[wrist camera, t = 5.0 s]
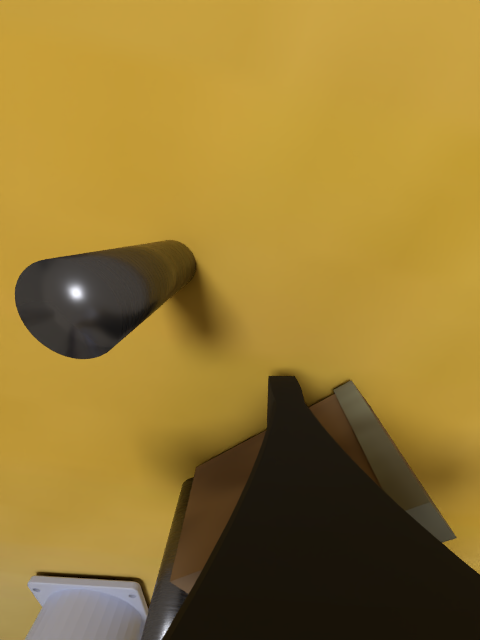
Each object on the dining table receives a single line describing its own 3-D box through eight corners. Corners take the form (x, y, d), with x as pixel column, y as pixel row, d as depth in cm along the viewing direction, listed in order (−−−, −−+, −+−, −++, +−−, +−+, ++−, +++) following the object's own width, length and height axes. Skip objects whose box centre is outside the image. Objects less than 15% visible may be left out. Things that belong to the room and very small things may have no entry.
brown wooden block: (214, 483, 12) (194, 617, 8) (193, 465, 11) (161, 596, 7) (369, 406, 10) (456, 538, 6) (351, 380, 9) (429, 502, 5)
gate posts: (219, 502, 13) (194, 711, 7) (183, 501, 13) (133, 706, 7) (199, 239, 8) (69, 271, 2) (141, 240, 8) (-122, 272, 2)
